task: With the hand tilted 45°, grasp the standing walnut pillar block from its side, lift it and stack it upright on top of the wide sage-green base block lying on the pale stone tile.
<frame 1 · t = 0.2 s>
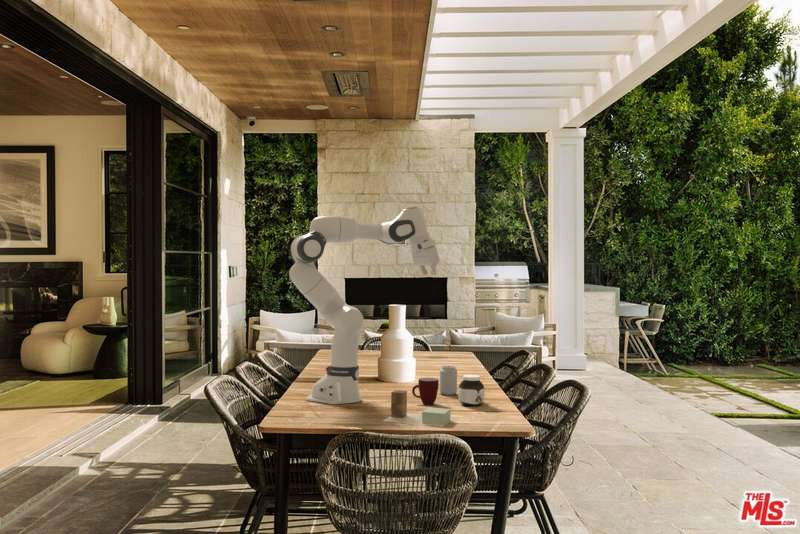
hand: (429, 274, 293), 52 cm above the table, tool tilted 20°, fingers open, 8 cm apart
can: (448, 394, 296), on the table
mug: (425, 404, 275), on the table
tile: (418, 421, 244), on the table
spread jar: (471, 404, 277), on the table
base block: (436, 421, 240), point 1 cm above the table, touching tile
pillar: (398, 416, 248), point 1 cm above the table, touching tile
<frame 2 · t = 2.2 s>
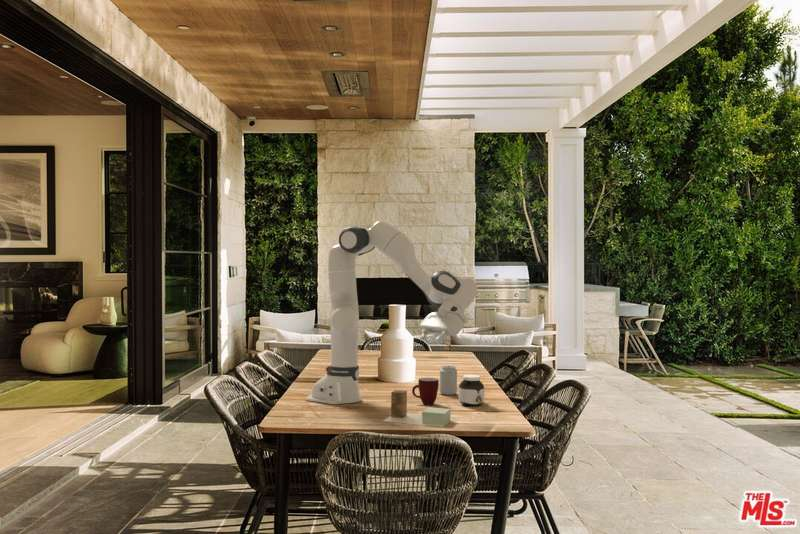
hand: (429, 340, 255), 28 cm above the table, tool tilted 45°, fingers open, 8 cm apart
nothing on the table moved.
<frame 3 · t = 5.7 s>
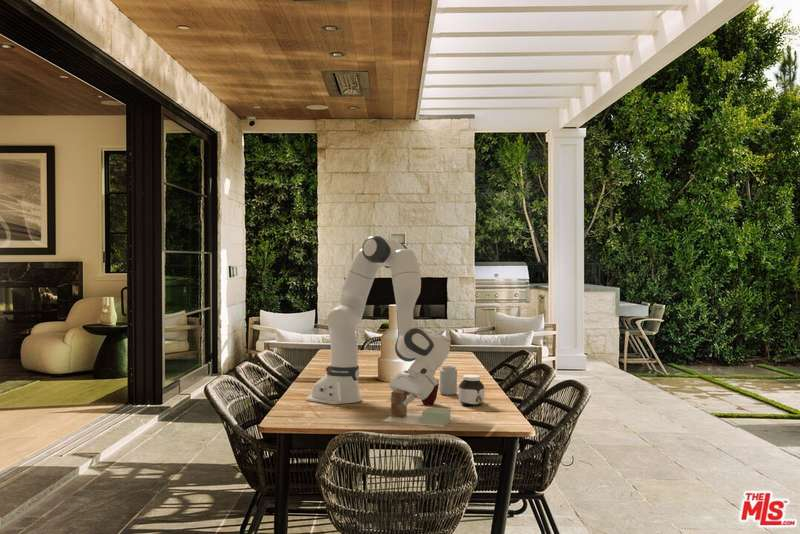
hand: (397, 403, 247), 6 cm above the table, tool tilted 45°, fingers closed on pillar, 6 cm apart
pillar: (398, 416, 248), point 1 cm above the table, touching gripper, tile
everything else where it was.
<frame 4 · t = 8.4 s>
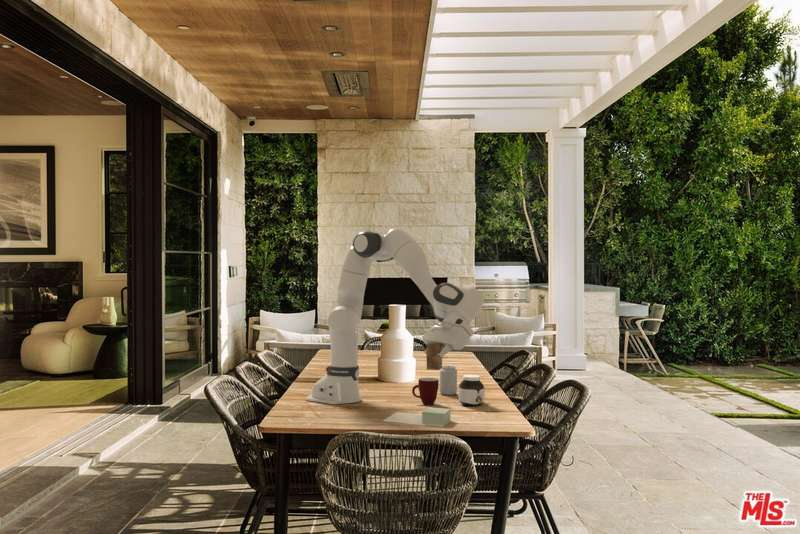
hand: (433, 355, 240), 24 cm above the table, tool tilted 45°, fingers closed on pillar, 6 cm apart
pillar: (434, 368, 241), point 20 cm above the table, touching gripper
everything else where it was.
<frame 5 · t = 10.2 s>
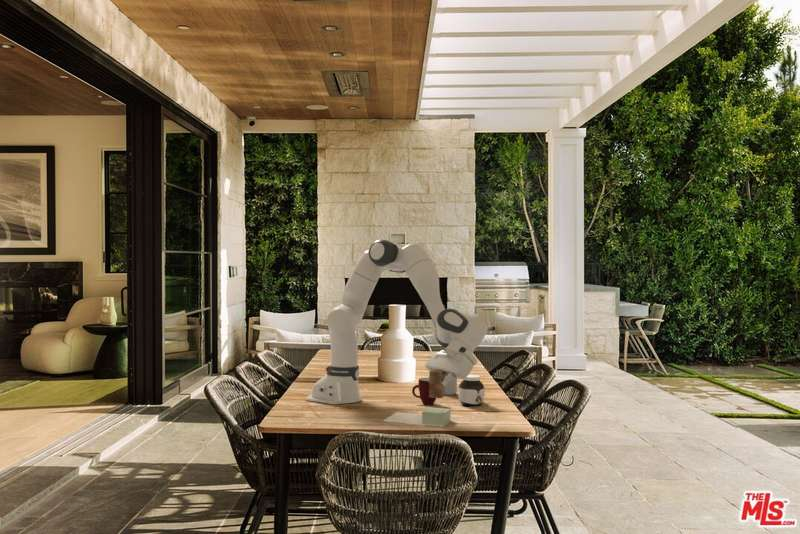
hand: (435, 383, 240), 15 cm above the table, tool tilted 45°, fingers closed on pillar, 6 cm apart
pillar: (437, 396, 240), point 10 cm above the table, touching gripper
everything else where it was.
when the fingers open (11 cm above the table, at t = 11.4 s): pillar drops 1 cm, resting on base block.
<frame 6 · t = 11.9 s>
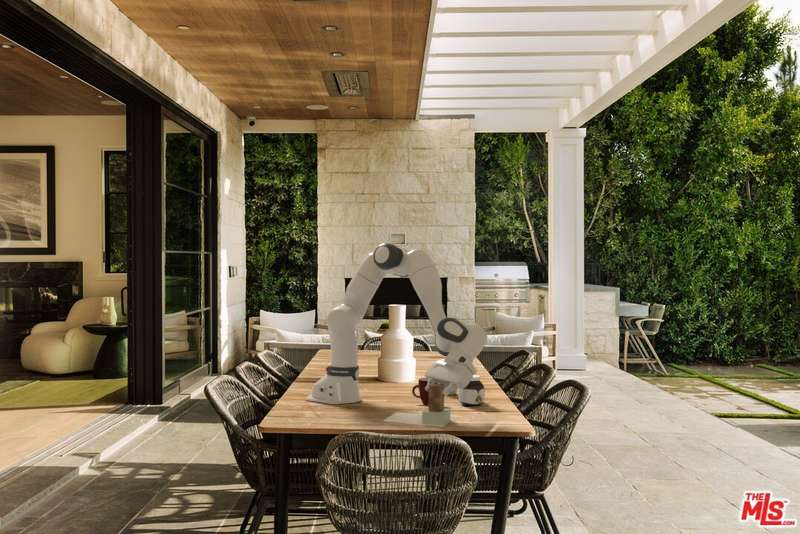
hand: (435, 392, 240), 11 cm above the table, tool tilted 45°, fingers open, 8 cm apart
base block: (436, 421, 240), point 1 cm above the table, touching pillar, tile
pillar: (436, 410, 240), point 5 cm above the table, touching base block
everything else where it was.
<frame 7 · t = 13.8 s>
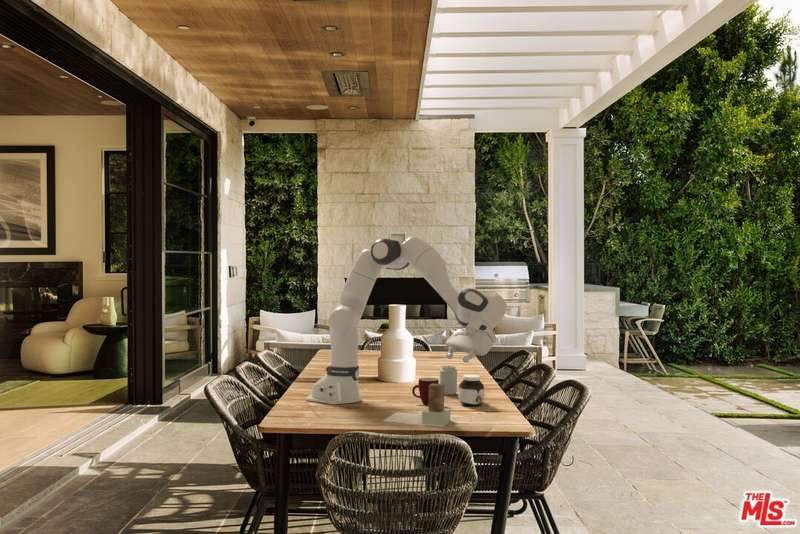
hand: (456, 359, 246), 22 cm above the table, tool tilted 45°, fingers open, 8 cm apart
nothing on the table moved.
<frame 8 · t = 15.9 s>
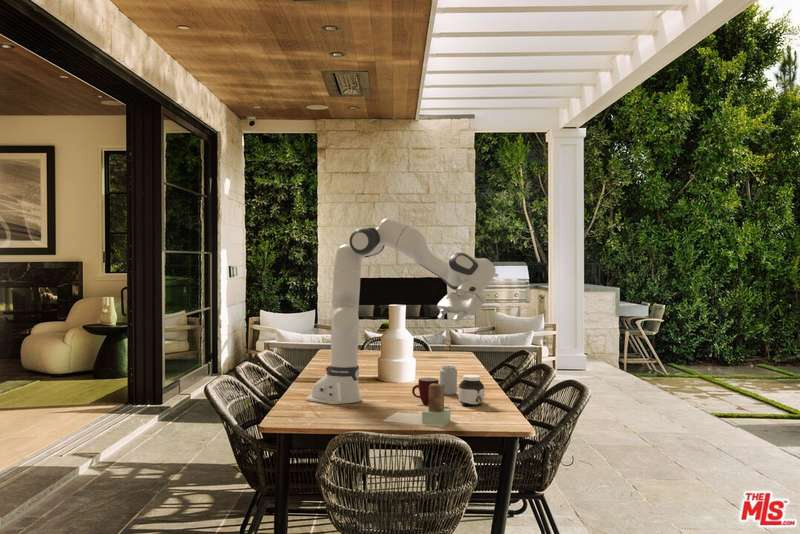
hand: (447, 320, 257), 35 cm above the table, tool tilted 45°, fingers open, 8 cm apart
nothing on the table moved.
at the end: pillar 0.1 cm off-centre on the base block, point 4.0 cm above the base block's base; pillar tilted 0°; the gripper is holding nothing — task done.
